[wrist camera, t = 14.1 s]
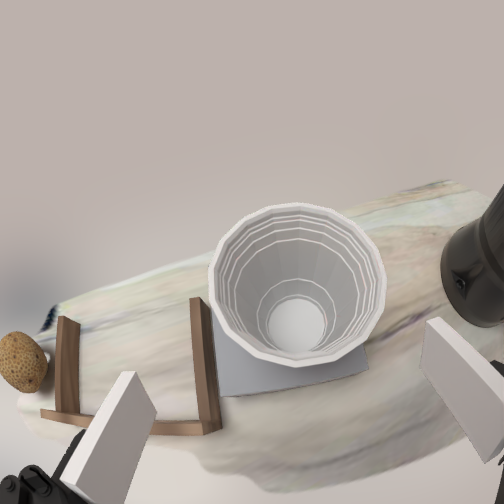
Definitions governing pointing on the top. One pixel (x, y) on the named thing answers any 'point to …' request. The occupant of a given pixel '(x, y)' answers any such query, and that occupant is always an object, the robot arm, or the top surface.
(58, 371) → the brown wooden frame
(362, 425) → the top surface
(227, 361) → the grey square block
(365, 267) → the plastic cup
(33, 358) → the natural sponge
